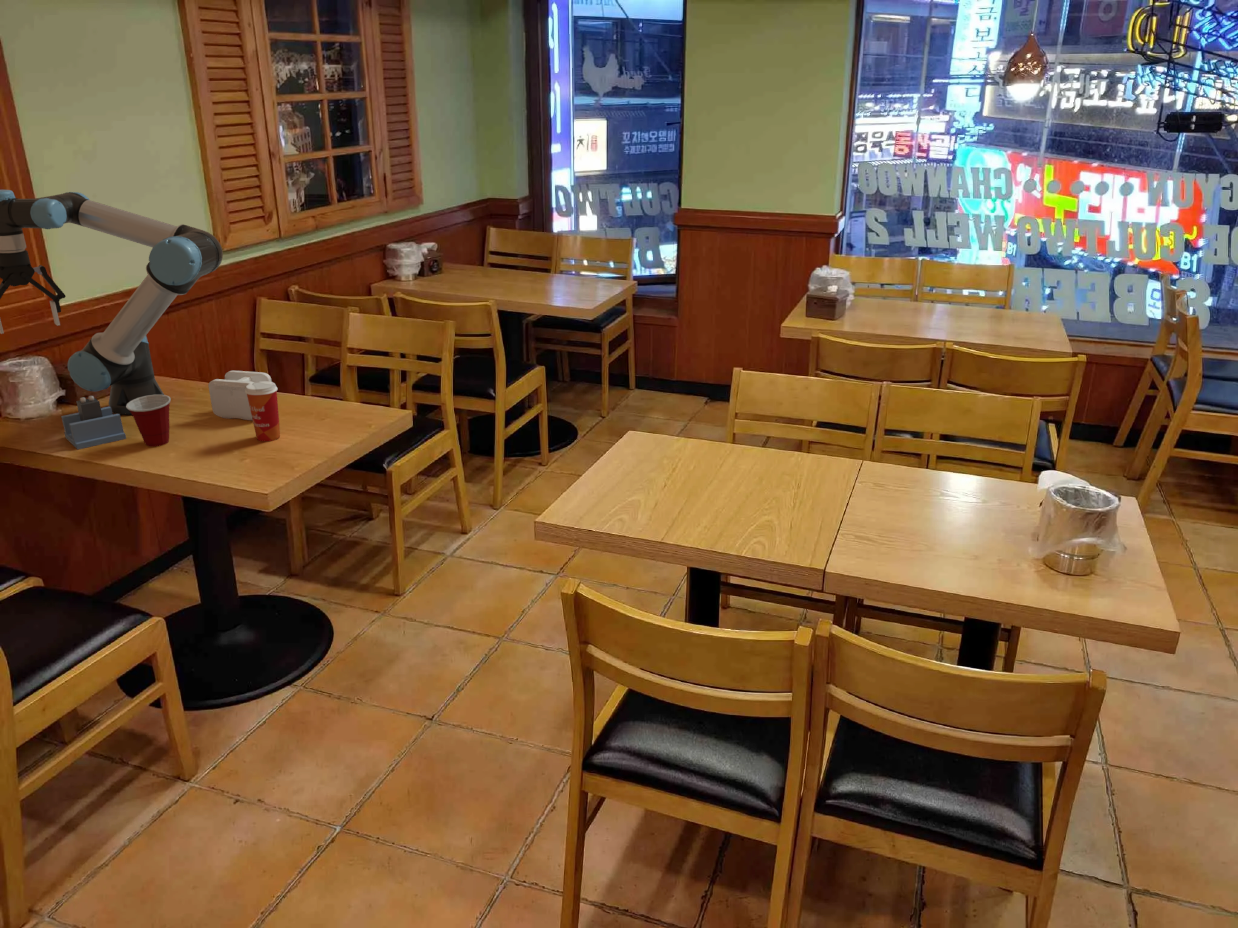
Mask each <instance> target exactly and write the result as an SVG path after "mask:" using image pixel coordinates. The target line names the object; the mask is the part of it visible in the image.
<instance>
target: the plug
mask: <svg viewBox="0 0 1238 928" xmlns="http://www.w3.org/2000/svg"><path fill="white" fill-rule="evenodd" d="M76 406H77V411H78V413H79V416H80V420H81V421H85V420H90V419H94V418H99V417H103V416H102V411H101V408H102V407H101V402H100V401H99V400H98V399H97V398H95V397H94V395H89V396H88V398H87V399H86V397H80V398H79V400H76Z"/></svg>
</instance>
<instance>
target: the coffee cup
mask: <svg viewBox="0 0 1238 928" xmlns="http://www.w3.org/2000/svg"><path fill="white" fill-rule="evenodd" d="M278 388H279V387H277V385H276V383H275V382H273V381H272V382H269V381H262V382H259V383H257V382H256V383H252V384H249V385H247V386H246V390H245V393H246V394H247V397H248V402H249V406H250V411H251V415H252V420H251V421H252V425H253V428H254V432H255V436H256V439H257V441H259V442H273V441H275V440H279V439H280V436H281V432H280V431H281V429H280V417H279V416H280V414H279V404H278V392H277V391H278Z"/></svg>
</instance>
